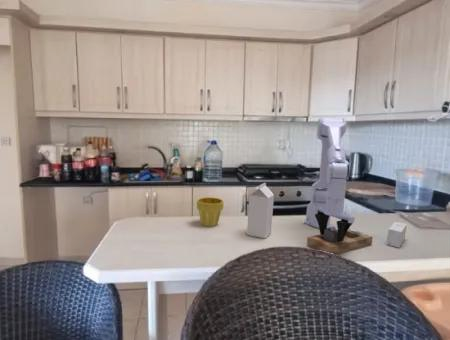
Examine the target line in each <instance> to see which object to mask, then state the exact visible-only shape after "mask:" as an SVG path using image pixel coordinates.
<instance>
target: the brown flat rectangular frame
mask: <svg viewBox="0 0 450 340" xmlns="http://www.w3.org/2000/svg"><path fill="white" fill-rule="evenodd" d="M373 238H374V237H373V236H371V235H369V234H367V233H365V232H362V231H359V230H356V229H354V228H349V229H348V231H347V232H346V234H345V237H344V240H343V241H341V242H336V243H330V242H328V241H326V240H323V239H324V234H323V235H321V234H320V233H319V234H315V235H311V236H308V237H307V238H306V239H307V240H306V241H307V242H306V246H307V247H309V248H311V249H314V250H315V249H317V250H316V251H318V250H322V251H326V252H329V253H333V254H337V255H340V254H344V253H347V252H350V251H351V252H352V251H355V250H358V249H362V248H366V247H368V246H371V245H373ZM337 255H336V256H337Z"/></svg>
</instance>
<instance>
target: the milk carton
mask: <svg viewBox="0 0 450 340" xmlns="http://www.w3.org/2000/svg"><path fill="white" fill-rule="evenodd" d="M248 197H249V199H248V216H247V227H246V228H247V230H246V231H247V233H246V235H247V236H252V237H254V238H255V237H256V238H261V239H267V238H268V236H270V235H271V233H272V227H273V212H274V202H275V199H274V197H275V194H274V192H272V191H271V190H270V189H269V187H268V186H267V182H264V183H261V184H260V185H258V186H255V187H254V188H253V192H252V193H251V194H249V196H248Z"/></svg>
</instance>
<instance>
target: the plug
mask: <svg viewBox="0 0 450 340" xmlns="http://www.w3.org/2000/svg"><path fill="white" fill-rule="evenodd" d="M337 236H338V229H337V227H335V226H334V227H331V228H327V229H325V230H324V239H323V240H326V241H328V242H330V243H336V242H338V241H337Z"/></svg>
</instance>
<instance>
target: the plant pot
mask: <svg viewBox="0 0 450 340" xmlns="http://www.w3.org/2000/svg"><path fill="white" fill-rule="evenodd" d="M196 209H197V210H198V214H199V219H200V224H201V225H202V226H203V227H210V228H211V227H215V226H218V225H219V221H220V217H221V212H222V211H223V209H224V199H222V198H219V197H213V196H212V197H210V196H209V197H208V196H206V197H199V198H198V199H197V200H196Z"/></svg>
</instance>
